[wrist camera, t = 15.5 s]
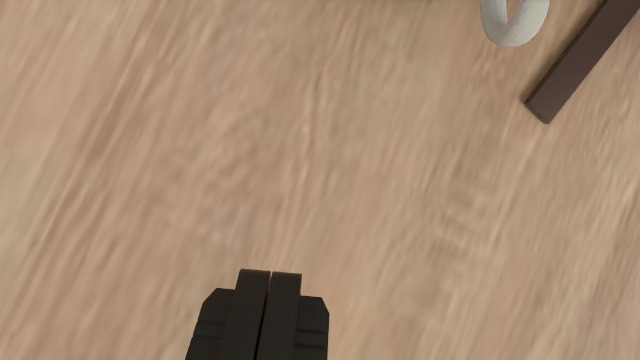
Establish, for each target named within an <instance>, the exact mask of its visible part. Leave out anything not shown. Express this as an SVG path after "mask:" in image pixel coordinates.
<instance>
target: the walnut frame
mask: <svg viewBox="0 0 640 360" xmlns="http://www.w3.org/2000/svg"><path fill="white" fill-rule="evenodd" d="M639 8H640V0H605V1H604V2H603V3H602V5H601V6H600V7H599V9H598V10H597V11H596V12H595V14H594V15H593V16H592V17H591V19H590V20H589V21H588V23H587V24H586V25H585V26H584V28H583V29H582V30H581V32H580V33H579V34H578V35H577V37H576V38H575V39H574V40H573V42H572V43H571V44H570V46H569V47H568V48H567V49H566V51H565V52H564V53H563V54H562V56H561V57H560V58H559V60H558V61H557V62H556V63H555V65H554V66H553V67H552V68H551V70H550V71H549V72H548V74H547V75H546V76H545V77H544V79H543V80H542V81H541V83H540V84H539V85H538V86H537V88H536V89H535V90H534V91H533V93H532V94H531V95H530V97H529V98H528V99H527V100H526V102H525V103H524V104H525V105H526V106H527V107H528V108H529V109H530V110H531V111H532V112H533V113H534V114H535V115H537V116H538V117H539V118H540V119H541V120H542V121H543V122H544V123H545V124H549V123H550V122H551V121H552V120H553V118H554V117H555V116H556V115H557V113H558V112H559V111H560V109H561V108H562V107H563V106H564V104H565V103H566V102H567V100H568V99H569V98H570V97H571V95H572V94H573V93H574V92H575V90H576V89H577V88H578V86H579V85H580V84H581V83H582V81H583V80H584V79H585V77H586V76H587V75H588V74H589V72H590V71H591V70H592V68H593V67H594V66H595V65H596V63H597V62H598V61H599V59H600V58H601V57H602V56H603V54H604V53H605V52H606V50H607V49H608V48H609V47H610V45H611V44H612V43H613V42H614V40H615V39H616V38H617V36H618V35H619V34H620V33H621V31H622V30H623V29H624V27H625V26H626V25H627V24H628V22H629V21H630V20H631V18H632V17H633V16H634V15H635V13H636V12H637V11H638V9H639Z"/></svg>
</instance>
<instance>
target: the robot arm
mask: <svg viewBox="0 0 640 360" xmlns="http://www.w3.org/2000/svg"><path fill="white" fill-rule="evenodd" d="M301 282H302V274H297V273H286V272H275V271H273V272H272V277H271V271H262V270H251V269H241V270H240V272H239V276H238V280H237V284H236V288H235V290H233V289H222V288H216V289H215V290H214V291H213V292H212V293H211V295H210V296H209V297H208V298H207V299H206V300H205V301H204V302H203V304H202V308H201V311H200V314H199V317H198V322H197V323H196V326H195V330H194V333H193V337H192V339H191V342H190V345H189V348H188V352H187V355H186V358H185V360H327V353H328V332H329V312H328V310H327V308H326V306H325V304H324V302H323V299H322V297H311V296H301Z"/></svg>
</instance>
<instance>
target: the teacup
mask: <svg viewBox="0 0 640 360" xmlns="http://www.w3.org/2000/svg"><path fill="white" fill-rule="evenodd" d="M549 3H550V0H519V2H518V5H517V8H516V10H515V12H514V14H513V16H512V18H511V19H510V21H509V22H508V20H507V13H506V0H480V7H481V19H482V26H483V29H484V32H485V34H486V36H487V37H488V39H489V40H490V41H492V42H493V43H495V44H497V45H500V46H505V47H518V46H521V45H523V44H525V43H527V42H528V41H529V40H530V39H531V38H532V37H533V36H534V35H535V34H536V33H537V32H538V30H539V29H540V27H541V26H542V24H543V22H544V20H545V17H546V15H547V11H548V7H549Z"/></svg>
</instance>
